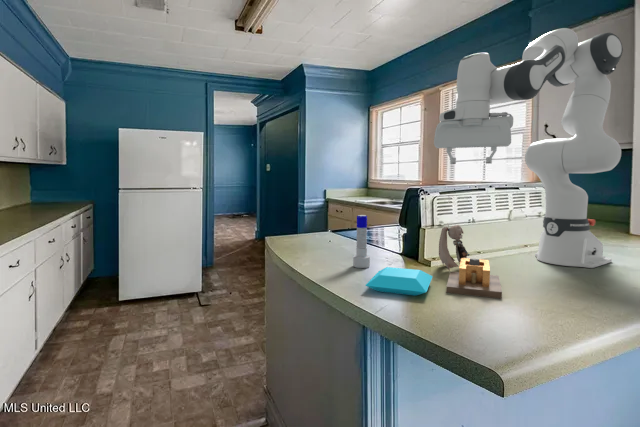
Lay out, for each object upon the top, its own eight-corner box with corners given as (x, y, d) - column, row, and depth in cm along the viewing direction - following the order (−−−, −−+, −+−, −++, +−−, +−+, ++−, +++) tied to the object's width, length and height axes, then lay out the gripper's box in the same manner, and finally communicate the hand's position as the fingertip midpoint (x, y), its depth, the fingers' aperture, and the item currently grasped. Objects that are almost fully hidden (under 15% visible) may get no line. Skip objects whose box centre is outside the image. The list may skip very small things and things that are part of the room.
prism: (378, 280, 105) (378, 264, 105) (432, 285, 100) (432, 268, 100) (364, 294, 92) (365, 275, 92) (426, 300, 87) (426, 280, 87)
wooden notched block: (460, 272, 105) (461, 257, 105) (487, 274, 103) (488, 259, 103) (458, 284, 94) (459, 268, 94) (489, 287, 92) (490, 270, 91)
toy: (476, 270, 110) (461, 220, 110) (446, 278, 112) (431, 228, 111) (471, 263, 119) (457, 216, 118) (443, 270, 121) (429, 224, 120)
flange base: (450, 276, 107) (451, 253, 106) (498, 281, 102) (499, 257, 101) (446, 292, 93) (447, 265, 92) (501, 298, 88) (503, 270, 88)
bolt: (372, 267, 117) (358, 269, 115) (364, 263, 122) (350, 265, 119) (373, 216, 115) (358, 216, 113) (364, 214, 120) (350, 215, 118)
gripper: (512, 113, 108) (510, 163, 109) (436, 117, 115) (434, 164, 117) (514, 110, 102) (512, 163, 104) (434, 114, 110) (432, 164, 111)
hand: (470, 163), depth 110 cm, fingers open, 8 cm apart
